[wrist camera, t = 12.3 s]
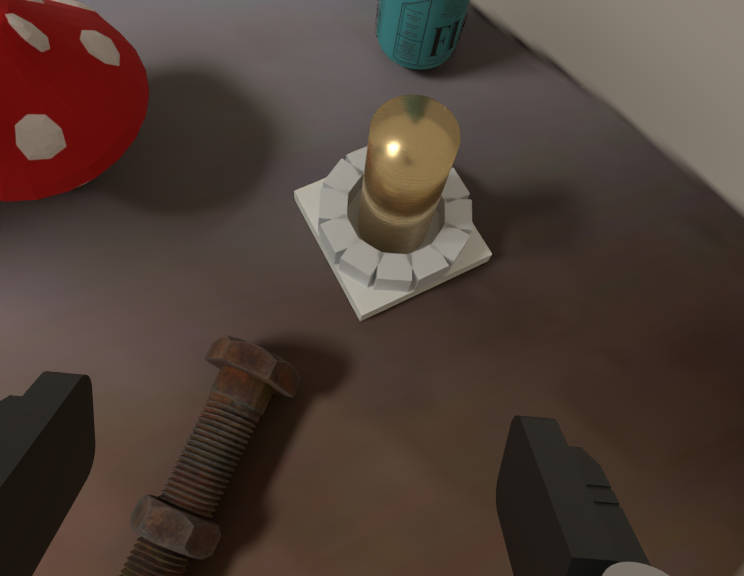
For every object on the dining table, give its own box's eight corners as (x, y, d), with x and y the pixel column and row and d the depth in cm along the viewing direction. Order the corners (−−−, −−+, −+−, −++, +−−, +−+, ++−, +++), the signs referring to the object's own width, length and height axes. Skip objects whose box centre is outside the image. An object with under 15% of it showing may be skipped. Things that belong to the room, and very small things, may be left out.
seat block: (360, 321, 44) (364, 305, 41) (294, 199, 47) (293, 175, 44) (487, 261, 46) (500, 241, 43) (418, 148, 49) (425, 122, 46)
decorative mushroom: (-7, 290, 42) (-160, 166, 28) (-69, 123, 46) (-231, -59, 32) (202, 206, 46) (157, 58, 32) (128, 57, 50) (59, -133, 36)
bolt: (140, 597, 39) (254, 364, 44) (201, 635, 36) (315, 383, 41) (64, 584, 34) (201, 325, 39) (127, 627, 31) (266, 344, 36)
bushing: (379, 268, 44) (398, 187, 34) (345, 209, 45) (353, 115, 35) (440, 238, 45) (477, 151, 35) (406, 181, 46) (431, 82, 36)
